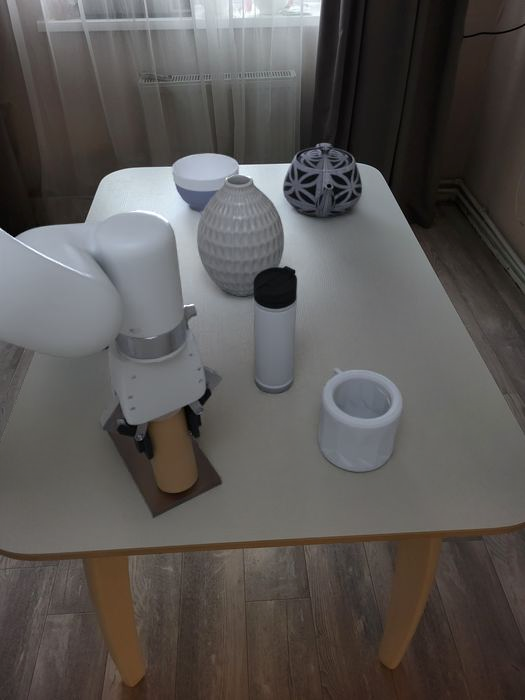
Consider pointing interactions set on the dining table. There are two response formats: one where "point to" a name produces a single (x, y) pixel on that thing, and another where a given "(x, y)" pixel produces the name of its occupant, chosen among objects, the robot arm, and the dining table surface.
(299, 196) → the teapot
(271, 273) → the travel mug
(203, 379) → the robot arm
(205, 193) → the bowl
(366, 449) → the mug
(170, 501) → the holder
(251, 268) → the vase
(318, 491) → the dining table surface
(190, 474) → the paper roll
